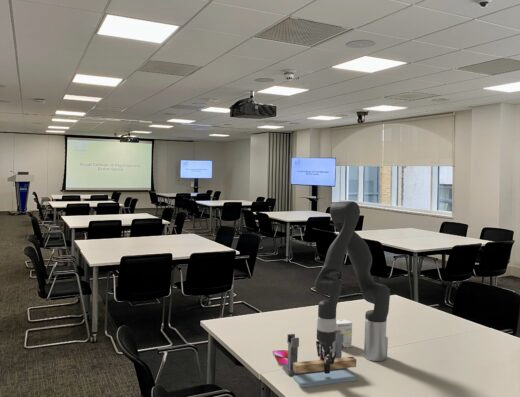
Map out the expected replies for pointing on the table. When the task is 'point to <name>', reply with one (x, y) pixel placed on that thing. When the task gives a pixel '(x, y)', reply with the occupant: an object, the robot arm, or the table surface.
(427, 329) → the table surface
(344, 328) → the ink box
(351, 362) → the rail
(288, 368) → the rack
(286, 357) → the smartphone
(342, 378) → the mat
